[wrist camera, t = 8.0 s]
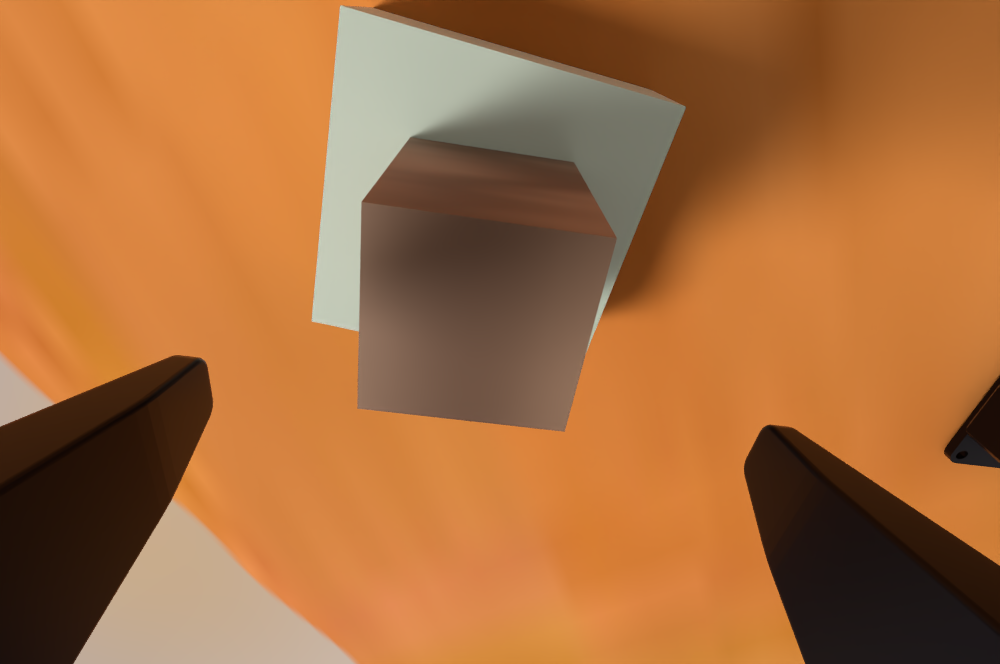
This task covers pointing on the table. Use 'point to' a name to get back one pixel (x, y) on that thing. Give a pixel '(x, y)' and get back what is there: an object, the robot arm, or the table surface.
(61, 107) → the table surface
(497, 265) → the walnut block
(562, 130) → the sage base block
